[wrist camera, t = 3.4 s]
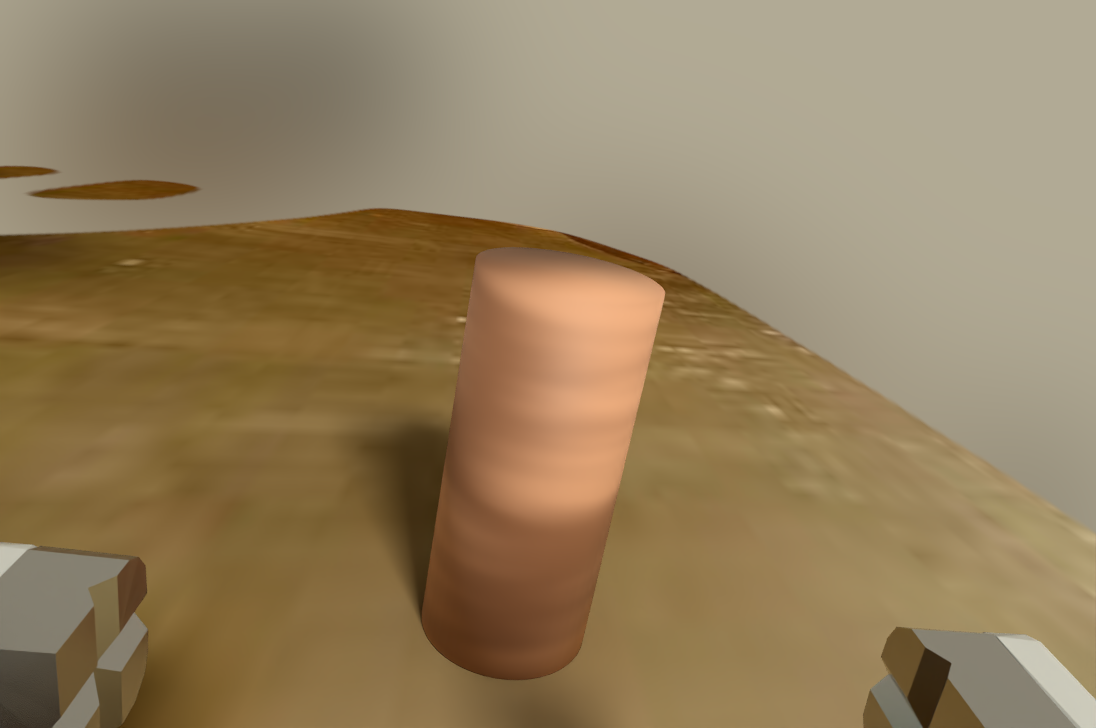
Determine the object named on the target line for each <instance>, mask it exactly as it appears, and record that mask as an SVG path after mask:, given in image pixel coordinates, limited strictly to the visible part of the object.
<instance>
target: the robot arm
mask: <svg viewBox="0 0 1096 728" xmlns="http://www.w3.org/2000/svg"><path fill="white" fill-rule="evenodd" d="M146 594H147V584H146V567H145V564H144V563H143V562H142V561H141V559H140V558H139V557H136V556H127V555H118V554H109V553H100V552H91V551H82V550H73V549H64V548H55V547H46V546H39V547H37V546H34V545H28V544H16V543H5V542H0V728H117V727H119V726H120V725H122V724H123V722H124V721H125V719H126V717H127V715H128V713H129V712H130V710H131V708H132V706H133V705H134V703H135V701H136V698H137V695H138V692H139V689H140V686H141V683H142V680H143V677H144V674H145V668H146V661H147V654H148V629H147V628H146V627H145V625H144V624H143V623H142V622H141V620H140V619H139V618H138V617H137V615H136V614H135V613H134V612H135V610H136V609H137V607H138V606H139V604H140V603H141V601H142V600H143V598H144V597H145V595H146ZM881 658H882V660H883V663H884V665H885V667H886V669H887V671H888V675H887V676H886V677H885V678H883V679H882V680H881V681H880V682H878V683H877V684H876V685H875V686H874V687H872V688H871V689H870V692H869V695H868V699H867V703H866V706H865V710H864V713H863V724H864V728H1096V700H1095V699H1094V698H1093V697H1092V695H1091V694H1090V693H1089V692H1088V691H1087V690H1086V689H1085V688H1084V687H1083V686H1082V685H1081V684H1080V683H1079V682H1078V681H1077V680H1076V679H1075V678H1074V677H1073V676H1072V674H1071V673H1070V672H1069V671H1068V670H1067V669H1066V668H1065V667H1064V666H1063V665H1062V664H1061V663H1060V662H1059V661H1058V660H1057V659H1056V658H1055V657H1054V656H1053V655H1052V653H1051V652H1050V651H1049V650H1048V649H1047V648H1046V647H1045V646H1044V645H1043V644H1042V643H1041V642H1040V641H1038V640H1036V639H1034V638H1032V637H1029V636H1027V635H1022V634H1004V633H986V632H983V633H972V632H959V631H945V630H932V629H919V628H905V627H896V628H895V630H894V631H893V632H892V633H891V634H890V636H889V637H888V638H887V641H886V644H885V647H884V650H883V652H882V655H881Z"/></svg>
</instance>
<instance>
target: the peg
mask: <svg viewBox="0 0 1096 728" xmlns="http://www.w3.org/2000/svg"><path fill="white" fill-rule="evenodd" d="M664 297H665V291H664V289H663V288H662V287H661V286H660V285H659V284H658V283H656V282H655V281H653V280H652V279H650V278H648V277H646V276H644V275H642V274H640V273H638V272H635V271H633V270H630V269H628V268H625V267H622V266H619V265H616V264H613V263H609V262H606V261H602V260H599V259H595V258H591V257H586V256H582V255H577V254H572V253H566V252H560V251H553V250H545V249H535V248H496V249H490V250H486V251H483V252H481V253H479V254H478V255H477V256H476V261H475V268H474V274H473V281H472V287H471V294H470V301H469V307H468V314H467V320H466V327H465V333H464V340H463V346H462V353H461V359H460V366H459V372H458V379H457V386H456V392H455V399H454V405H453V412H452V418H451V425H450V431H449V438H448V444H447V451H446V457H445V464H444V470H443V477H442V484H441V490H440V497H439V503H438V510H437V516H436V523H435V529H434V536H433V542H432V549H431V555H430V562H429V569H428V575H427V582H426V588H425V595H424V601H423V608H422V625H423V629H424V631H425V633H426V636H427V637H428V639H429V640H430V642H431V643H432V645H433V646H434V647H435V648H436V649H437V650H438V651H439V652H440V653H441V654H442V655H443V656H445V657H446V658H447V659H449V660H450V661H452V662H453V663H455V664H457V665H459V666H460V667H462V668H465V669H467V670H469V671H472V672H474V673H477V674H481V675H484V676H488V677H493V678H499V679H507V680H523V679H533V678H538V677H542V676H546V675H549V674H552V673H554V672H556V671H558V670H560V669H562V668H563V667H565V666H566V665H568V664H569V663H570V662H571V661H572V660H573V659H574V658H575V656H576V655H577V654H578V652H579V650H580V648H581V644H582V641H583V637H584V633H585V628H586V624H587V620H588V616H589V612H590V607H591V603H592V599H593V595H594V591H595V586H596V582H597V578H598V574H599V570H600V565H601V561H602V557H603V553H604V549H605V544H606V540H607V536H608V532H609V528H610V523H611V519H612V515H613V511H614V507H615V503H616V498H617V494H618V490H619V486H620V482H621V477H622V473H623V469H624V465H625V461H626V456H627V452H628V448H629V444H630V440H631V435H632V431H633V427H634V423H635V419H636V414H637V410H638V406H639V402H640V398H641V393H642V389H643V385H644V381H645V377H646V372H647V368H648V364H649V360H650V356H651V351H652V347H653V343H654V339H655V335H656V330H657V326H658V322H659V318H660V314H661V309H662V305H663V301H664Z"/></svg>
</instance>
